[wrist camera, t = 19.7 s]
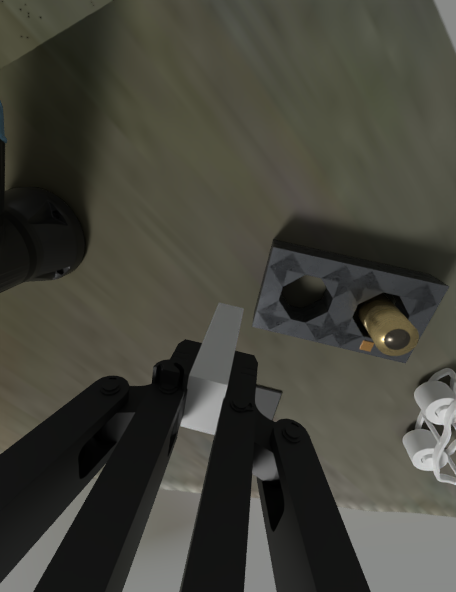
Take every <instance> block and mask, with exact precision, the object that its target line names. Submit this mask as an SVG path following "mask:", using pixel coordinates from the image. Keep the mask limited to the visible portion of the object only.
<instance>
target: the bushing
mask: <svg viewBox="0 0 456 592" xmlns="http://www.w3.org/2000/svg"><path fill="white" fill-rule="evenodd" d="M355 311H356V313H357V315H358V316H359V318H360V320H361V321H362V323H363V325H364V326H365V328H366V330H367V331H368V333H369V335H370V337H371V338H372V340H373V342H374V343H375V345H376V347H377V348H378V349H379V351H381V352H382V353H384V354H386V355H389V356H400V355H403V354H406V353H408V352H410V351H411V350H412V349H413V348H414V347H415V346H416V345H417V343H418V340H419V333H418V331H417V329H416V328H415V327H414V326H413V325H412V323H411V322H410V321H409V320H408V319H407V318H406V317H405V316H404V315H403V314H402V313H401V312H400V310H399V309H398V308H397V307H396V306H395V305H394V304H393V303H392V302H391V301H390V300H389V299H388V297H387V296H386V295H385V294H384V293H381V294H379V295H377V296H375V297H372V298H370V299H368V300H366V301H364V302H362V303H360V304H358V305H357V308H356V310H355Z"/></svg>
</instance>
